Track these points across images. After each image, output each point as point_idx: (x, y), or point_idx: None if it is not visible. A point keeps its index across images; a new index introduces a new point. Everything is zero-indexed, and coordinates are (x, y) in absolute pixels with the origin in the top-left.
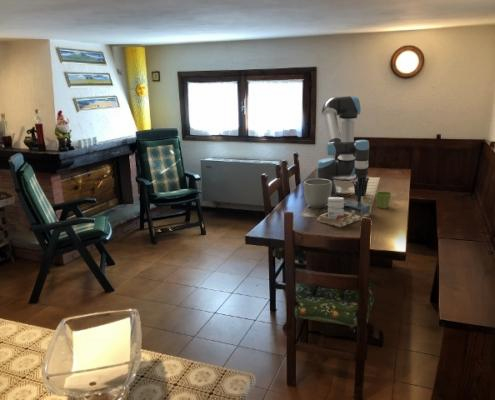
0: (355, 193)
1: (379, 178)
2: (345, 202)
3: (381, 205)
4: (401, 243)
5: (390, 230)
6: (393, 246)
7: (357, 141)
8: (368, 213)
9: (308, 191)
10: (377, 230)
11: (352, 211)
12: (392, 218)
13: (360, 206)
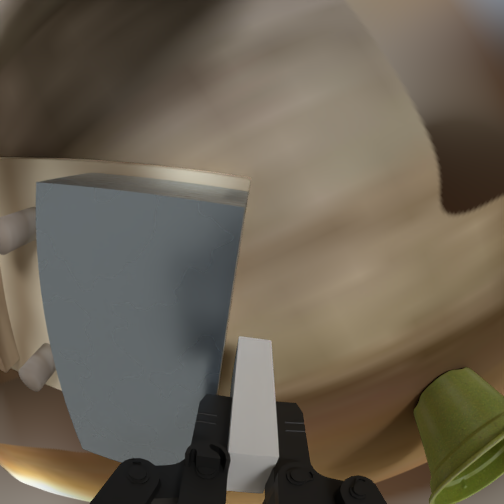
0: (101, 498)
1: None
2: (87, 240)
3: (419, 421)
4: (45, 489)
5: (89, 485)
6: (18, 473)
7: None
8: None
9: None
10: (50, 455)
11: (19, 374)
12: (234, 491)
13: (97, 436)
